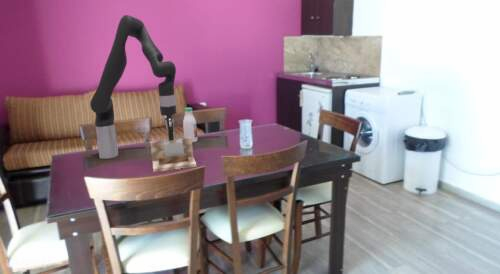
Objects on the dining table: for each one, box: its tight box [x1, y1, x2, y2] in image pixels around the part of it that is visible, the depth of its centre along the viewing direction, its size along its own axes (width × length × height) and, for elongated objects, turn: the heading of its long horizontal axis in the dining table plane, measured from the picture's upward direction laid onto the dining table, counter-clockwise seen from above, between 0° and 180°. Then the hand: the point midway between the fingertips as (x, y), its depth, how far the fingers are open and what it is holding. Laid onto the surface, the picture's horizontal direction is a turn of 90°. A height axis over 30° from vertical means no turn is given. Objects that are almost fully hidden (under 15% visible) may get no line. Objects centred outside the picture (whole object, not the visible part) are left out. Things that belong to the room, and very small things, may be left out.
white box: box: [163, 128, 184, 157], centre depth 188 cm, size 9×5×13 cm, turn 105°
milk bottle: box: [182, 106, 199, 144], centre depth 226 cm, size 8×8×20 cm
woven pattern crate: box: [149, 137, 197, 173], centre depth 187 cm, size 20×14×11 cm
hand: (171, 139), depth 188 cm, fingers closed on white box
